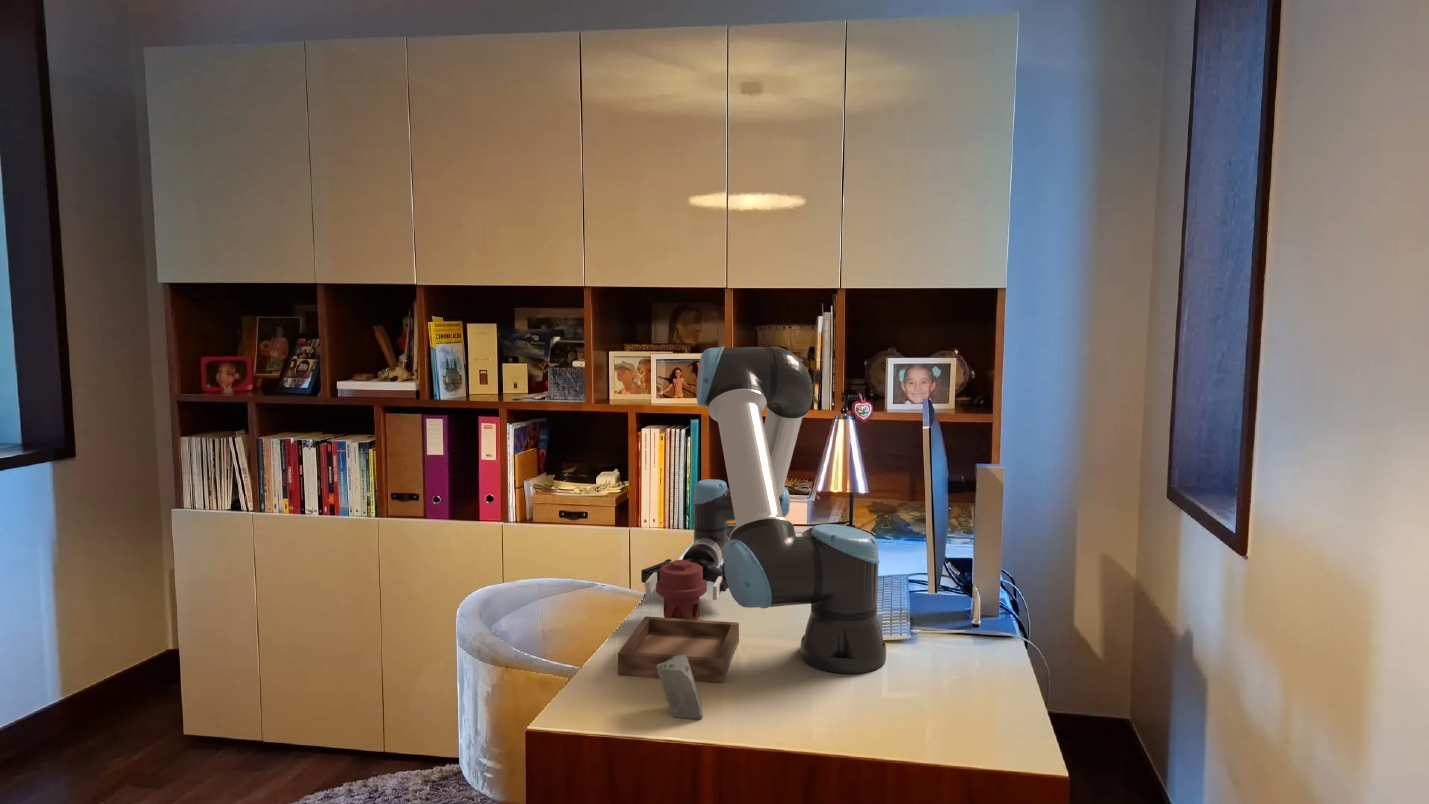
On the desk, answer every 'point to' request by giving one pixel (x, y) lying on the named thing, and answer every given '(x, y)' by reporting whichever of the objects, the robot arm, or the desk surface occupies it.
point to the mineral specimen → (680, 688)
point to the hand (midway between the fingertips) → (680, 591)
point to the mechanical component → (681, 589)
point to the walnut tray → (680, 647)
